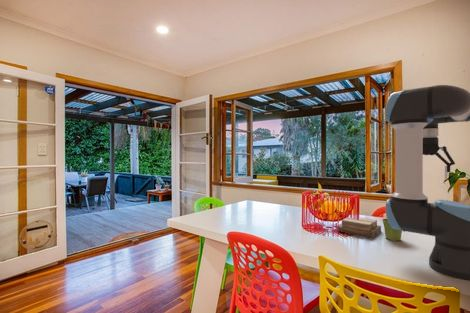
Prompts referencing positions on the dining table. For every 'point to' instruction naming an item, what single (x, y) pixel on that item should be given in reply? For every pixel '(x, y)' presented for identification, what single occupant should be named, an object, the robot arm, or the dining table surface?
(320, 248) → the dining table surface
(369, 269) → the dining table surface
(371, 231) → the plinth
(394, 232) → the plant pot
